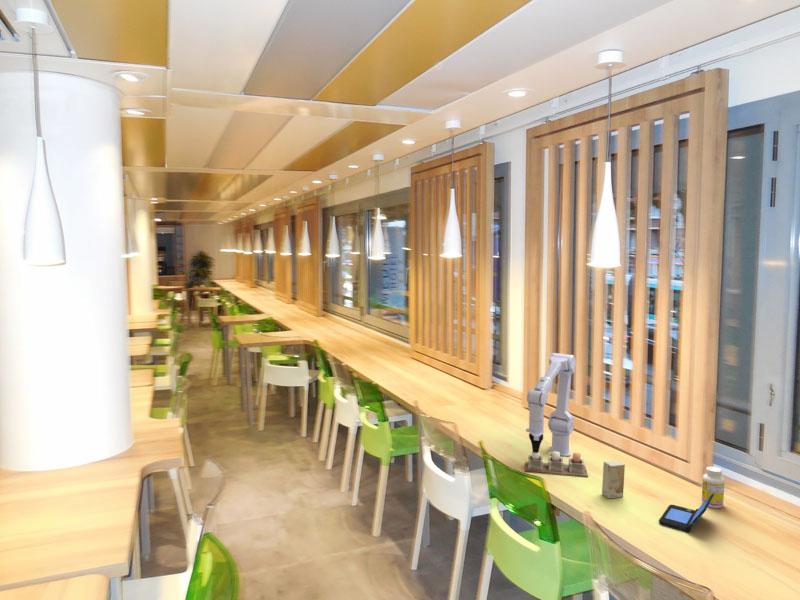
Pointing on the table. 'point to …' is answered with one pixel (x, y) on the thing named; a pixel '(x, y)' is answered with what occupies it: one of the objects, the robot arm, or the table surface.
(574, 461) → the terracotta plug
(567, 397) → the robot arm
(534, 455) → the plug
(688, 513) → the handheld game console
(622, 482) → the skincare box
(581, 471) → the board
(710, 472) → the supplement bottle
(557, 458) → the plug
